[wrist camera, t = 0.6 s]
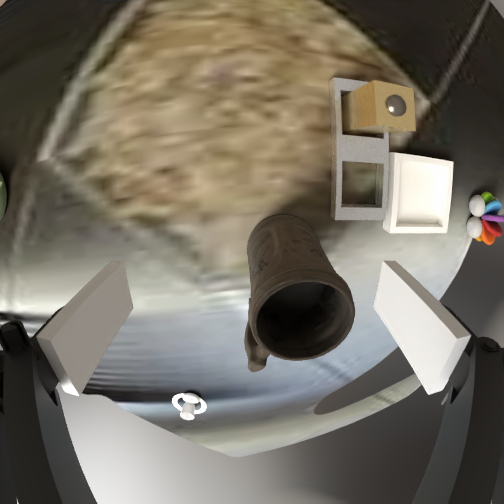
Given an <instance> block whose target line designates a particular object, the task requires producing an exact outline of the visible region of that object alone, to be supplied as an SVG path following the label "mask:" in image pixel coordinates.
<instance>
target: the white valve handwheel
mask: <svg viewBox="0 0 504 504" xmlns="http://www.w3.org/2000/svg"><path fill="white" fill-rule="evenodd" d="M180 397H183V399H184V400H185V401H186V402H185V403H184V405H183V407H180V406H179V405H178V403H177V400H178V399H179V398H180ZM199 401H200V402H201V404H202V407H201V409H199V410H197V411H195V405H194V404H195V403H198V402H199ZM172 402H173V404H174V406H175V407H176V408H177V409H179V410H181V413H180V416H181V417H182V418H184V419H186V420H192V419H194V416H195V414H198V413H202V412H204V411H205V410H206V408H207V405H206V403H205V402H204V400H202V399H201V398H199V397H198V396H197V395H195V394H193V393H182V394H177V395H175V396H174V397H173V399H172Z"/></svg>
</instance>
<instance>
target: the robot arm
mask: <svg viewBox="0 0 504 504" xmlns="http://www.w3.org/2000/svg"><path fill="white" fill-rule="evenodd" d="M98 1H100V2H103V3H115V2H120V1H124V0H98ZM373 308H374V309H375V310H376V312H377V313H378V315H379V316H380V318H381V319H382V321H383V322H384V324H385V325H386V327H387V328H388V330H389V331H390V333H391V335H392V336H393V338H394V339H395V341H396V342H397V344H398V345H399V347H400V349H401V350H402V352H403V353H404V355H405V357H406V358H407V360H408V361H409V363H410V365H411V366H412V368H413V370H414V371H415V373H416V375H417V376H418V378H419V380H420V381H421V383H422V385H423V387H424V388H425V390H426V392H427V393H428V395H429V394H432V393H435V392H438V391H441V390H443V388H444V387H445V385H446V383H447V381H448V380H450V382H451V383H452V386H451V388H450V390H449V391H448V393H447V395H446V396H445V398H444V399H443V401H442V403H441V404H444V402H445V401H446V400H447V403H446V407H445V411H444V415H443V420H442V423H441V427H440V431H439V434H438V438H437V441H436V444H435V447H434V450H433V453H432V456H431V459H430V462H429V464H428V467H427V470H426V472H425V475H424V477H423V480H422V482H421V485H420V487H419V489H418V491H417V494H416V496H415V498H414V500H413V502H412V504H491V500H492V504H504V348H501V347H500V346H499V344H498V343H497V342H495V341H494V340H493V339H491V338H488V337H479V338H478V337H477V336H476V335H475V334H474V333H473V332H472V331H471V330H470V329H469V328H468V327H467V326H466V325H465V324H464V323H463V322H461V319H459V317H458V316H456V314H454V312H453V311H452V310H451V309H450V308H448V307H446V306H445V305H443V304H441V303H440V302H439V301H438V300H437V299H436V298H435V297H434V296H433V295H432V294H431V293H430V292H429V291H428V290H427V289H425V288H424V287H423V286H422V285H421V284H420V283H419V282H418V281H417V280H416V279H415V278H414V277H413V276H412V275H411V274H409V273H408V272H407V271H406V270H405V269H404V268H403V267H402V266H401V265H399V264H398V263H397V262H396V261H383V263H382V269H381V274H380V279H379V284H378V289H377V293H376V298H375V302H374V306H373ZM132 309H133V304H132V299H131V295H130V290H129V285H128V281H127V276H126V270H125V265H124V261H111V262H110V263H109V264H108V265H107V266H106V267H104V268H103V269H102V270H101V271H100V272H99V273H98V274H97V275H96V276H95V277H94V278H93V279H92V280H91V281H90V282H88V283H87V284H86V285H85V286H84V287H83V288H82V289H81V290H80V291H79V292H78V293H77V294H76V295H75V296H74V297H73V298H72V299H71V300H70V301H69V302H68V303H67V304H66V305H65V306H64V307H62V308H60V309H59V310H57V311H56V312H55V313H54V314H53V315H52V316H51V318H49V319H48V320H47V321H46V324H44V325H43V326H42V327H41V328H40V329H39V330H38V331H37V332H36V333H35V334H34V336H33V337H32V338H31V339H29V337H28V335H27V332H26V330H25V328H24V325H23V323H22V322H20V321H16V320H15V321H10V322H8V323H5V324H4V325H3V326H1V327H0V344H1V346H2V347H3V350H0V504H17V500H18V503H19V504H97V502H96V500H95V498H94V496H93V494H92V492H91V489H90V487H89V485H88V483H87V481H86V478H85V476H84V474H83V471H82V469H81V466H80V463H79V461H78V458H77V455H76V453H75V450H74V447H73V444H72V441H71V438H70V435H69V432H68V428H67V424H66V421H65V417H64V413H63V409H62V405H61V401H60V397H59V393H58V391H57V389H56V388H55V387H56V386H57V384H58V382H60V384H61V386H62V388H63V389H64V391H65V392H67V393H70V394H73V395H77V396H80V395H81V393H82V391H83V389H84V388H85V386H86V384H87V382H88V381H89V379H90V377H91V375H92V374H93V372H94V370H95V369H96V367H97V365H98V363H99V362H100V360H101V358H102V357H103V355H104V353H105V352H106V350H107V349H108V347H109V345H110V344H111V342H112V340H113V339H114V337H115V336H116V334H117V332H118V331H119V329H120V328H121V326H122V325H123V323H124V322H125V320H126V318H127V317H128V315H129V314H130V312H131V311H132Z"/></svg>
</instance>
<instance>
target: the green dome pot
mask: <svg viewBox="0 0 504 504" xmlns="http://www.w3.org/2000/svg"><path fill="white" fill-rule="evenodd" d="M6 200H7V192H6V185H5V182H4V179H3V177H2V174H1V173H0V220H1V218H2V217H3V216H4V212H5V208H6Z"/></svg>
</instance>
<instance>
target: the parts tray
mask: <svg viewBox="0 0 504 504" xmlns="http://www.w3.org/2000/svg"><path fill="white" fill-rule="evenodd" d="M452 177H453V162H451V161H446V160H441V159H435V158H429V157H423V156H416V155H409V154H402V153H393V152H389V170H388V193H387V208H386V219H385V220H384V221H383V229H384V230H386V231H387V232H389V233H447V227H448V219H449V211H450V202H451V192H452Z"/></svg>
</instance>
